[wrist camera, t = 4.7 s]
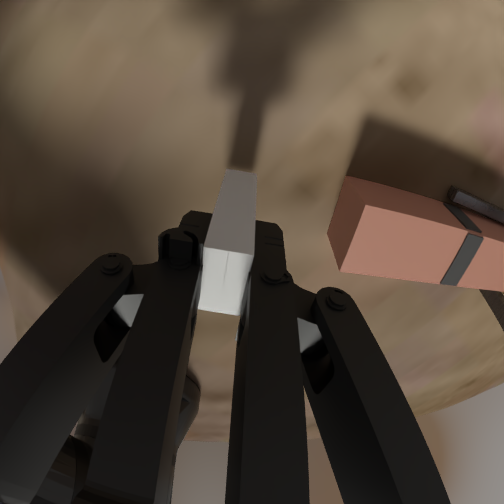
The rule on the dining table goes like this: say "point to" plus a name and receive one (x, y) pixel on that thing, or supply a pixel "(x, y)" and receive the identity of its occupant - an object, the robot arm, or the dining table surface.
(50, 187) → the dining table surface
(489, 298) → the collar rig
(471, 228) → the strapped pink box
